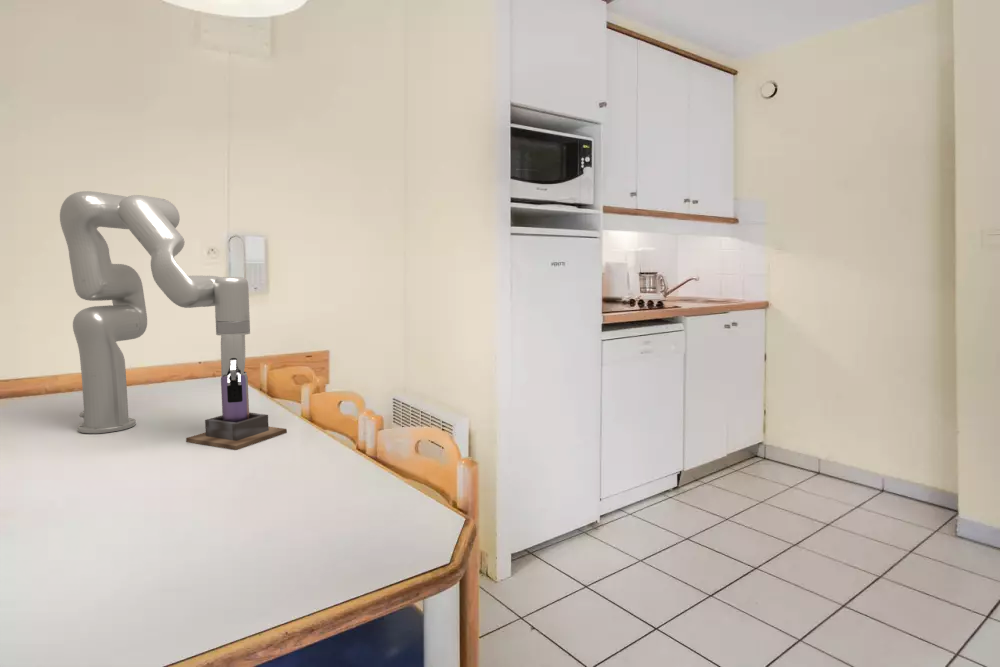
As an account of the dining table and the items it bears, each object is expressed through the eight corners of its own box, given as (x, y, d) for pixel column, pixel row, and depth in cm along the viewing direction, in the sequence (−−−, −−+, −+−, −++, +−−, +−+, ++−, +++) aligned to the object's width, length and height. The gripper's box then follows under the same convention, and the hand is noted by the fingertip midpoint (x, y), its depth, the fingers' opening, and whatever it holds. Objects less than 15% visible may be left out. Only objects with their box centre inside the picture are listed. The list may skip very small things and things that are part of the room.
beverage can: (240, 437, 142) (237, 375, 141) (218, 435, 143) (215, 374, 142) (254, 430, 148) (252, 371, 147) (233, 429, 149) (230, 370, 148)
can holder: (186, 442, 142) (185, 421, 141) (239, 426, 156) (238, 407, 156) (236, 450, 135) (235, 428, 135) (286, 432, 150) (286, 413, 149)
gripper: (218, 325, 149) (221, 392, 151) (213, 332, 134) (216, 406, 135) (250, 324, 152) (253, 390, 154) (249, 331, 136) (252, 404, 138)
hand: (236, 397), depth 145 cm, fingers open, 9 cm apart
